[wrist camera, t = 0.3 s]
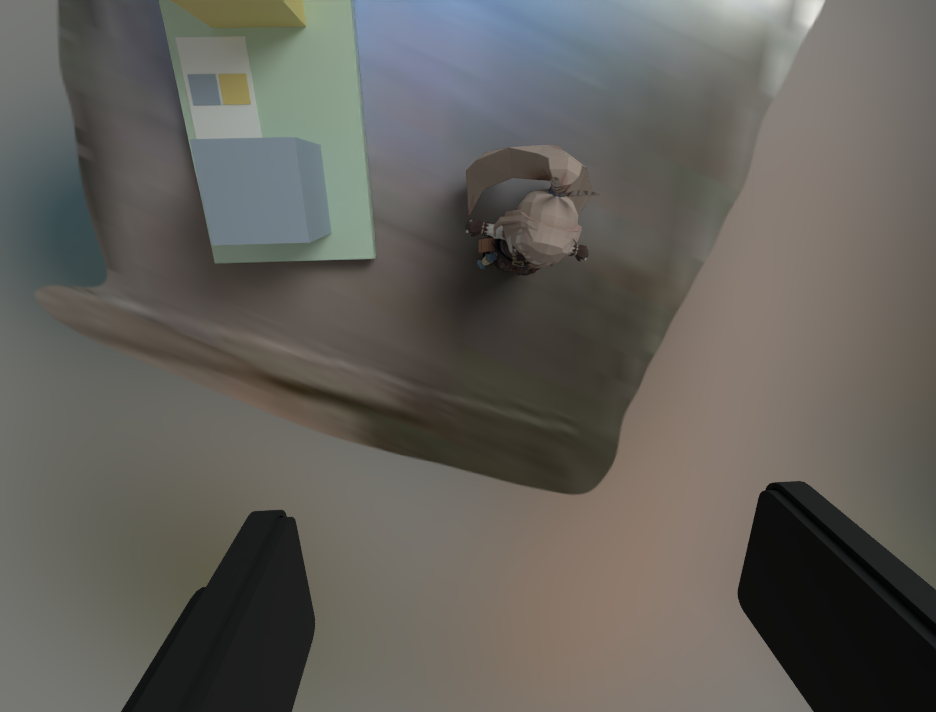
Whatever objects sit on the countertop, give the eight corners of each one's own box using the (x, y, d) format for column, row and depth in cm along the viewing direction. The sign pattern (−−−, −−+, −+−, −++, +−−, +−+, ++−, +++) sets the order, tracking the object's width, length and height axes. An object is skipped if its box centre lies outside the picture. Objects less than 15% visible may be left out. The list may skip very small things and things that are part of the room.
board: (147, -101, 28) (132, -114, 27) (344, -102, 29) (339, -115, 28) (222, 260, 36) (213, 263, 35) (376, 256, 37) (374, 259, 35)
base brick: (234, 146, 32) (189, 139, 27) (320, 144, 33) (294, 137, 27) (250, 235, 34) (212, 245, 29) (331, 232, 35) (309, 242, 29)
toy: (443, 272, 37) (462, 234, 22) (464, 165, 36) (499, 52, 21) (552, 297, 38) (641, 276, 23) (573, 193, 37) (678, 103, 23)
